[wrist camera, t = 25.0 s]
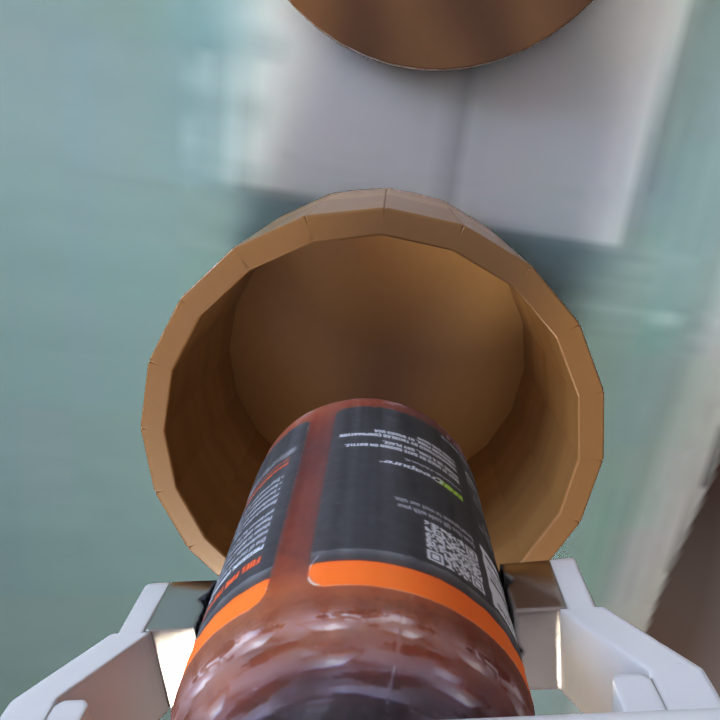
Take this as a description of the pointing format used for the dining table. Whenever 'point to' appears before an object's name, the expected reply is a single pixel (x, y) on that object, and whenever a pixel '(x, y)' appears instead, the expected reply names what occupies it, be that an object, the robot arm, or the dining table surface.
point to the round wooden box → (376, 364)
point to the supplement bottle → (358, 583)
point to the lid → (438, 28)
